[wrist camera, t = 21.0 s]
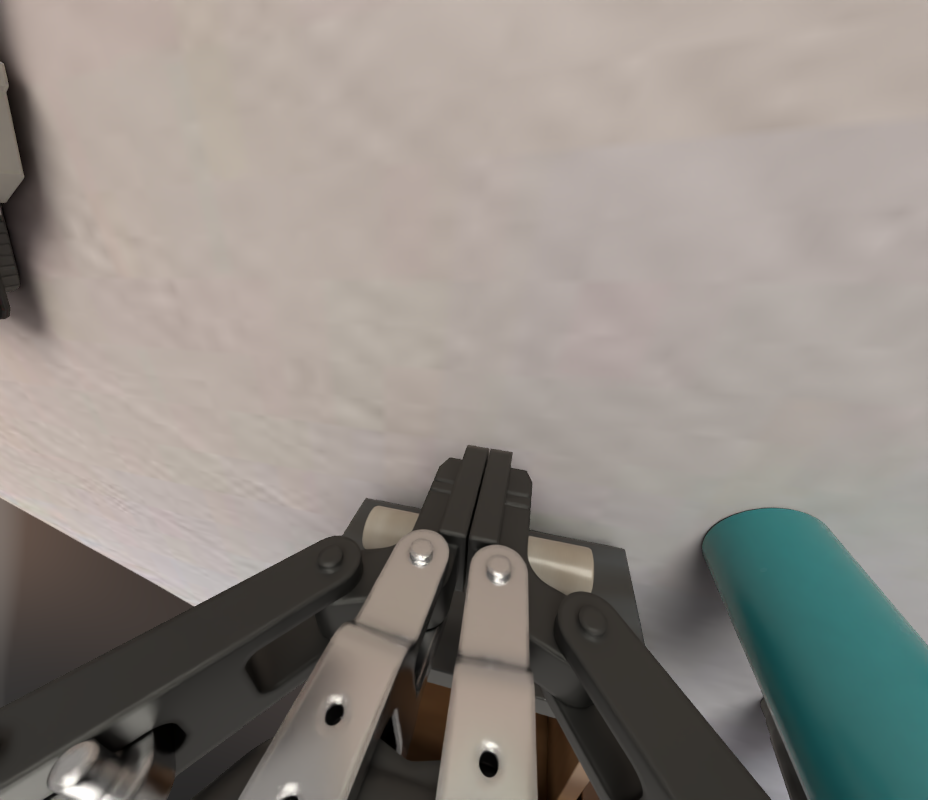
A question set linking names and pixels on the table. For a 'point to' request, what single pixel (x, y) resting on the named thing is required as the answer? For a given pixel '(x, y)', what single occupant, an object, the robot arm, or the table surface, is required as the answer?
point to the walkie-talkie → (7, 194)
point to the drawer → (552, 562)
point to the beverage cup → (783, 758)
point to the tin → (825, 655)
